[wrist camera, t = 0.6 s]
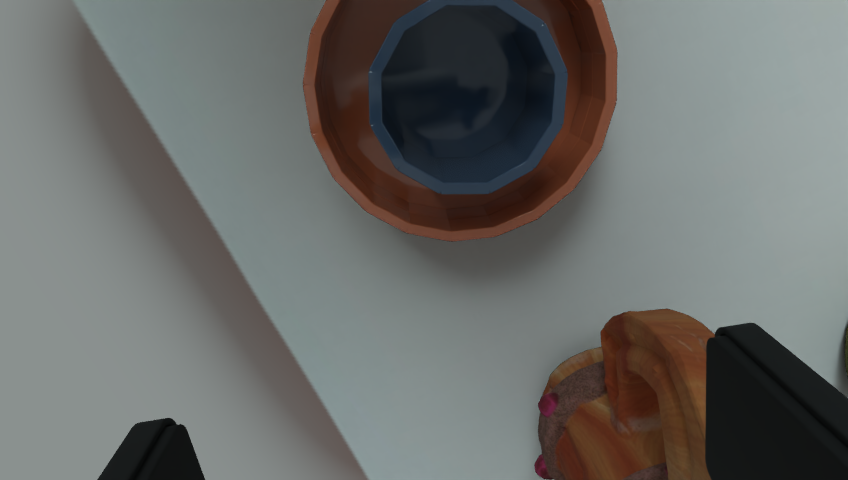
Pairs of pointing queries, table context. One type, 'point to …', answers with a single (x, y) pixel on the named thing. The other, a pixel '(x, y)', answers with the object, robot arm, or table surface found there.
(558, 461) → the mug
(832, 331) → the table surface
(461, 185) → the small bowl
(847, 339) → the fruit
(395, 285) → the table surface
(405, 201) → the big bowl
